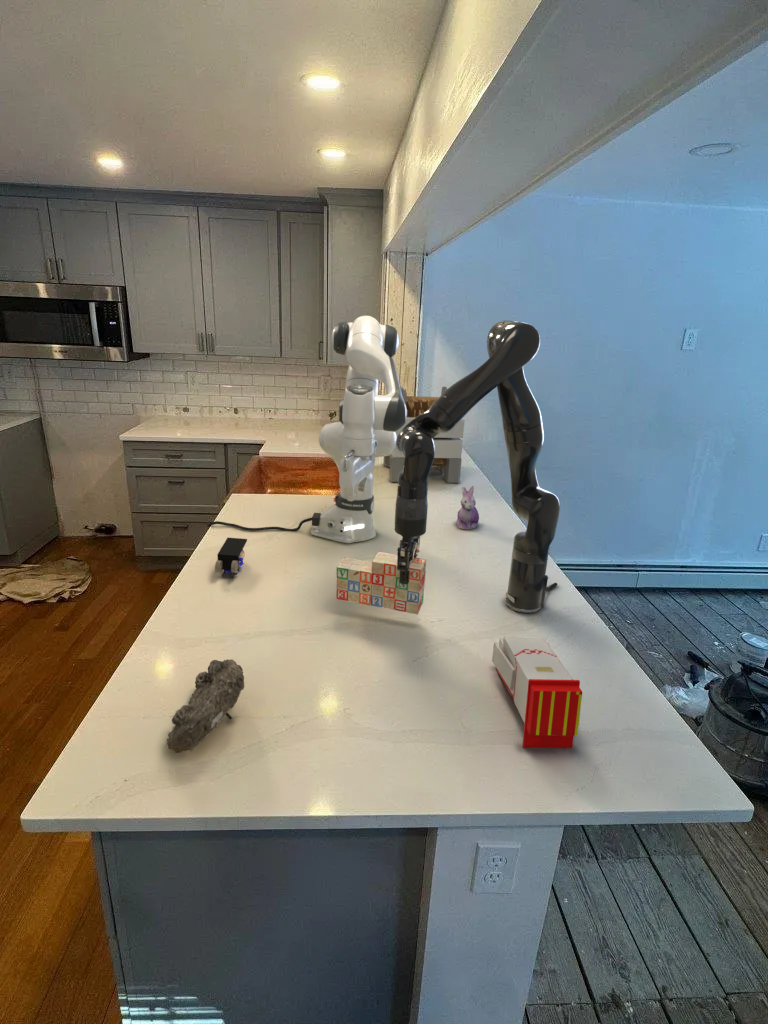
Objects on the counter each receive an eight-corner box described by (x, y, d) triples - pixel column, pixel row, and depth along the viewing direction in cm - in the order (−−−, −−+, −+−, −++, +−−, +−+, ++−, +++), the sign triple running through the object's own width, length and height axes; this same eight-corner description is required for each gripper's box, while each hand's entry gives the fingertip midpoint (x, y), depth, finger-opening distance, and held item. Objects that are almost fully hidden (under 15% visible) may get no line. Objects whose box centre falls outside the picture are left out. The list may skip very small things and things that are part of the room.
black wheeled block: (238, 584, 162) (249, 557, 175) (236, 562, 158) (247, 536, 172) (215, 584, 161) (227, 556, 175) (212, 561, 158) (225, 535, 171)
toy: (540, 620, 128) (592, 687, 99) (535, 674, 131) (584, 755, 102) (487, 619, 128) (523, 686, 99) (483, 673, 131) (517, 754, 101)
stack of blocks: (335, 600, 143) (335, 555, 139) (343, 589, 149) (344, 546, 144) (418, 614, 138) (421, 568, 133) (423, 602, 143) (426, 558, 139)
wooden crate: (382, 463, 289) (386, 382, 275) (445, 464, 293) (451, 384, 279) (390, 482, 257) (394, 392, 243) (460, 483, 261) (468, 394, 247)
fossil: (192, 660, 117) (244, 628, 112) (224, 691, 120) (276, 661, 115) (142, 746, 98) (202, 712, 93) (182, 779, 101) (242, 748, 96)
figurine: (464, 532, 204) (468, 492, 199) (449, 522, 212) (452, 484, 207) (486, 528, 208) (490, 489, 203) (469, 519, 216) (473, 481, 211)
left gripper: (356, 456, 143) (355, 508, 147) (379, 440, 161) (377, 487, 166) (333, 453, 144) (332, 505, 149) (358, 438, 163) (357, 484, 167)
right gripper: (420, 525, 126) (415, 593, 131) (432, 505, 139) (428, 567, 144) (387, 521, 127) (384, 587, 133) (403, 501, 140) (400, 563, 146)
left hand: (356, 495), depth 158 cm, fingers open, 8 cm apart
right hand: (407, 577), depth 139 cm, fingers closed on stack of blocks, 6 cm apart
